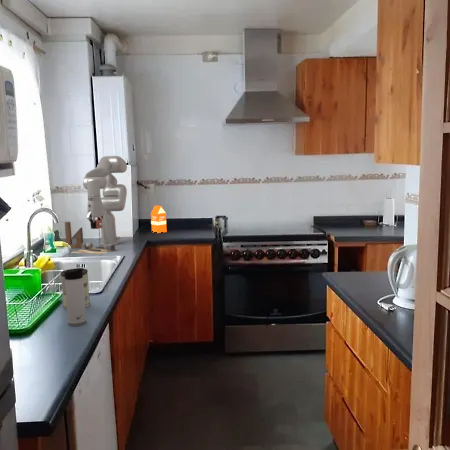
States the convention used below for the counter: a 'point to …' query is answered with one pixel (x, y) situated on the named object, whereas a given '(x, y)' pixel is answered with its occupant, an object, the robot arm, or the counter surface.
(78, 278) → the travel mug
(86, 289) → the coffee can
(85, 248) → the jig
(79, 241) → the brown long handled part
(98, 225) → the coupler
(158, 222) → the orange juice
